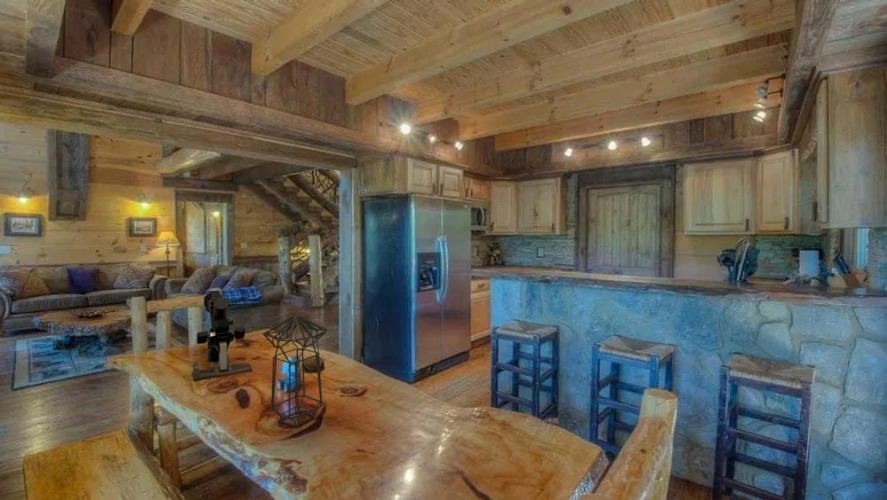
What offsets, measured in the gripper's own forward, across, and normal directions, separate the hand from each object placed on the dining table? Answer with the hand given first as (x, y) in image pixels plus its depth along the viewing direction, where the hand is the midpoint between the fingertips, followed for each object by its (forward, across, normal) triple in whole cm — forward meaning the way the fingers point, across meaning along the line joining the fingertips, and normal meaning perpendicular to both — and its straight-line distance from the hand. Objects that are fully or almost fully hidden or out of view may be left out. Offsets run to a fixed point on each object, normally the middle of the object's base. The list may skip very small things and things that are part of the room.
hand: (223, 351), depth 170 cm
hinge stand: (+6, 0, +8) cm, 10 cm away
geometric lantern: (+51, +14, -38) cm, 65 cm away
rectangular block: (+4, 0, +6) cm, 8 cm away
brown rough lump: (+18, +34, -4) cm, 39 cm away
